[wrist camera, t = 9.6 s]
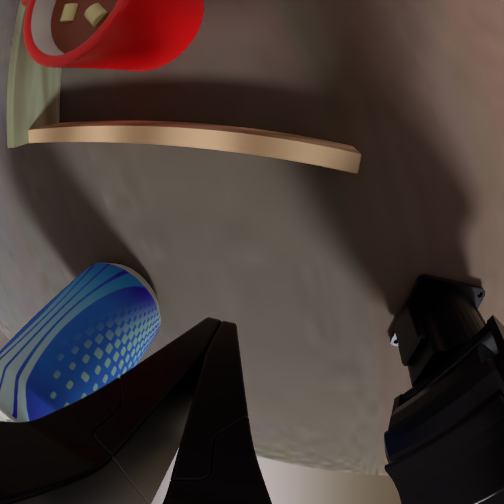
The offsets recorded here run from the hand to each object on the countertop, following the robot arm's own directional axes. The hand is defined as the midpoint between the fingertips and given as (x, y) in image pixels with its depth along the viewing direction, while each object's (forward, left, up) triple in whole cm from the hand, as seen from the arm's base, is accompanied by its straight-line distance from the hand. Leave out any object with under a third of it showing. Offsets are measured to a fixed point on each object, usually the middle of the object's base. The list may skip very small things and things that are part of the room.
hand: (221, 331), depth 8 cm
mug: (+12, -12, -12) cm, 21 cm away
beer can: (+12, +11, -12) cm, 20 cm away
